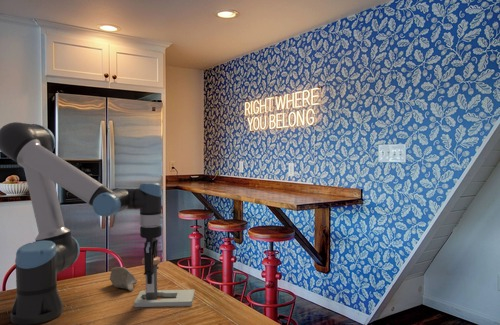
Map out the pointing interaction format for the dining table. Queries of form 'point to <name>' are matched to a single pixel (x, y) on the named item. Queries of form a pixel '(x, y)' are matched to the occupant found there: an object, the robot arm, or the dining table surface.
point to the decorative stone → (122, 278)
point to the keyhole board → (181, 299)
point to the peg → (154, 294)
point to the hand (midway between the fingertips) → (151, 289)
